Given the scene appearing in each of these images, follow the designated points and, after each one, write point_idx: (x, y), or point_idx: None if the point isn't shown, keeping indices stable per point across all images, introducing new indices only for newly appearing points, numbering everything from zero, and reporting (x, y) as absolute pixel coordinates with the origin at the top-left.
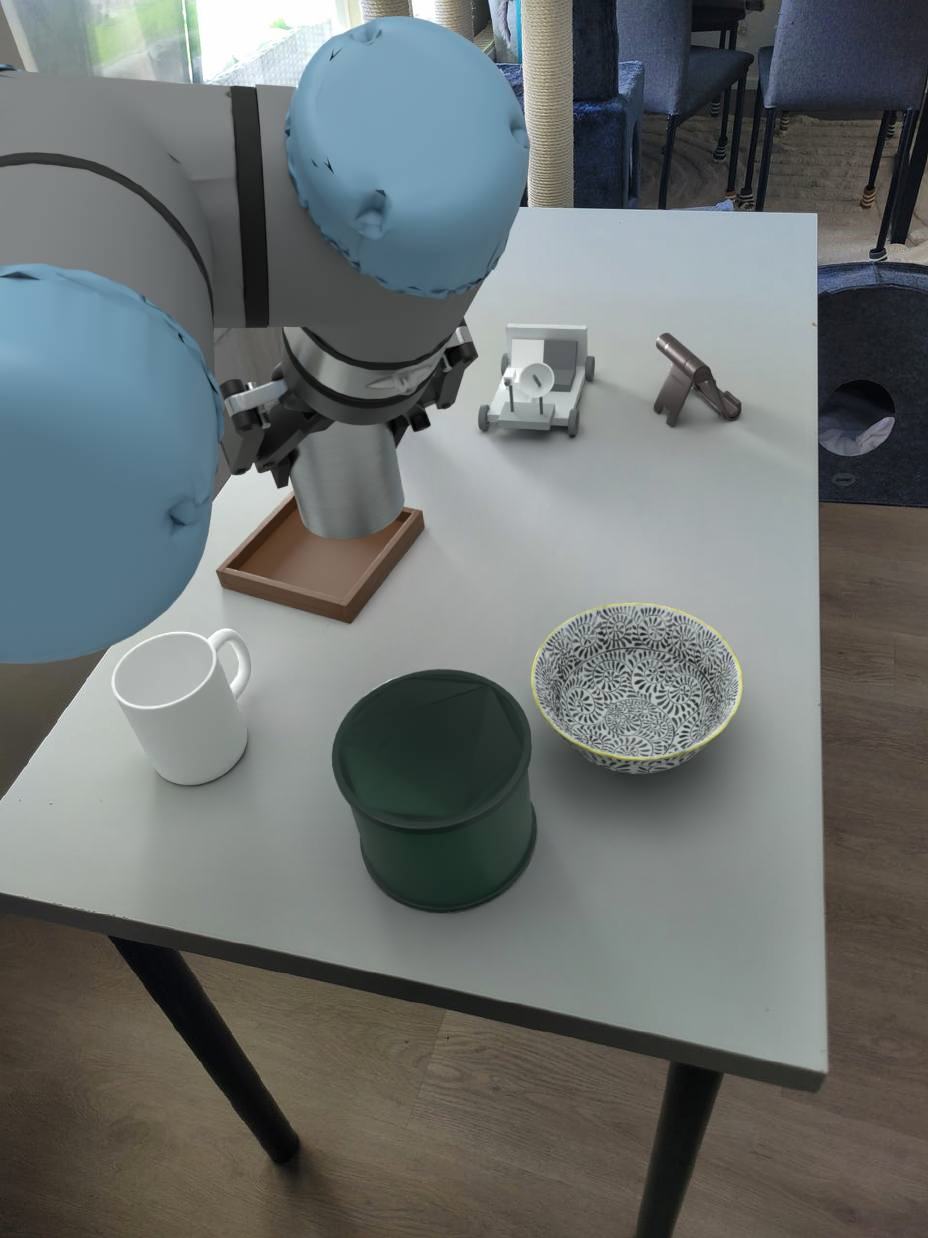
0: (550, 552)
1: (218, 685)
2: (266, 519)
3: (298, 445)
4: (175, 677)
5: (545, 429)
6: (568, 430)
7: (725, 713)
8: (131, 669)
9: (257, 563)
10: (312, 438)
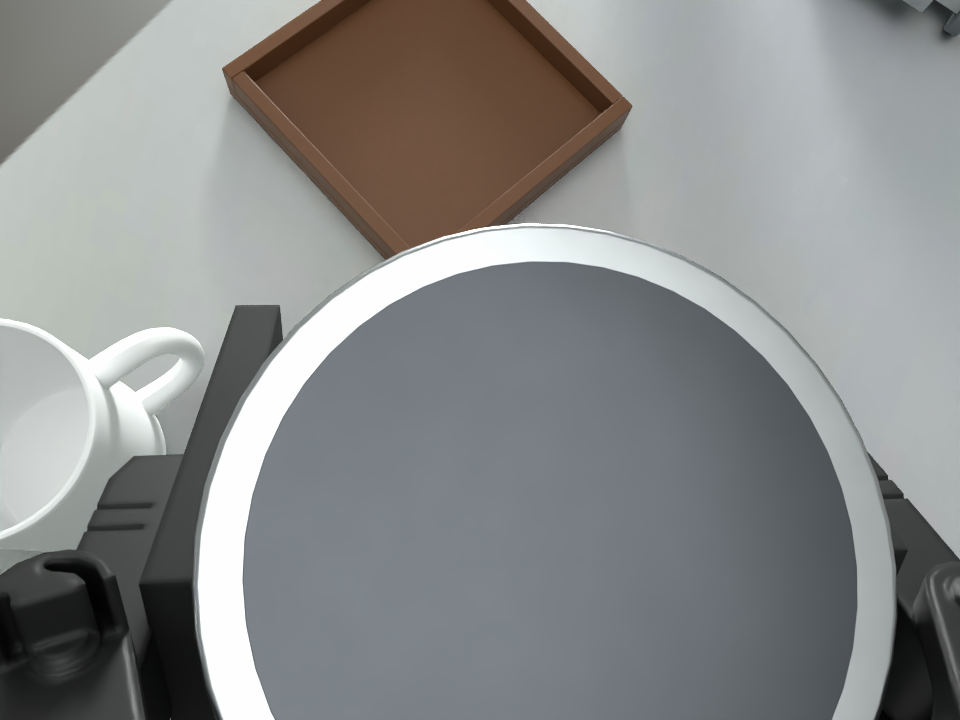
0: (805, 297)
1: (86, 493)
2: None
3: None
4: (44, 357)
5: (915, 8)
6: (950, 26)
7: None
8: None
9: (306, 74)
10: None
